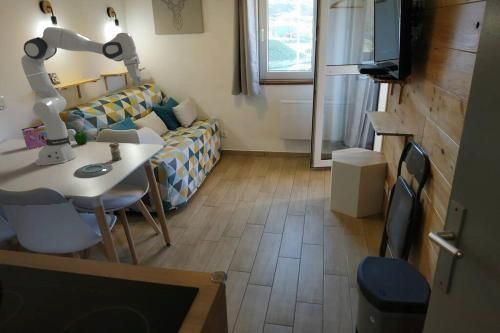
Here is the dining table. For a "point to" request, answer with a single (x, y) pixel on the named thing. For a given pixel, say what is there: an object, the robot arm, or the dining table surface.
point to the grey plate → (93, 170)
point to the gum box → (35, 136)
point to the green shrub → (80, 138)
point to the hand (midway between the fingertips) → (138, 85)
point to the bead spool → (115, 151)
